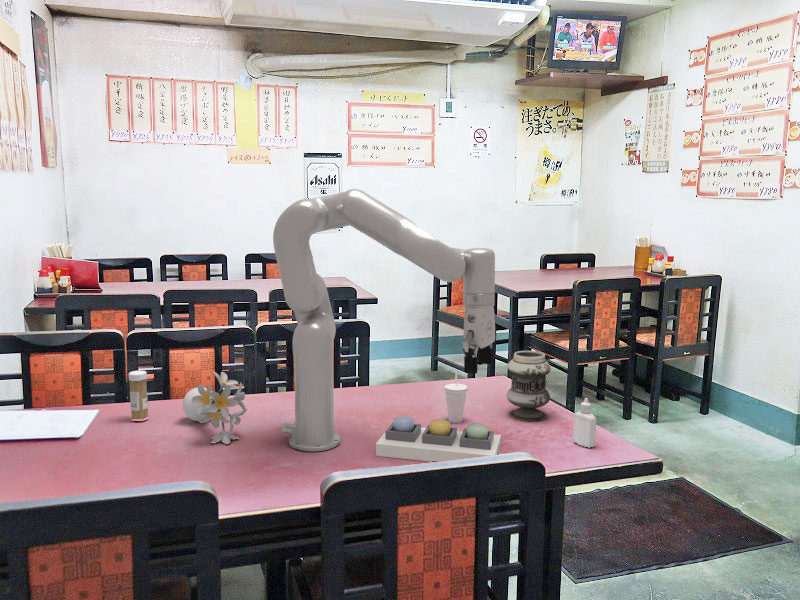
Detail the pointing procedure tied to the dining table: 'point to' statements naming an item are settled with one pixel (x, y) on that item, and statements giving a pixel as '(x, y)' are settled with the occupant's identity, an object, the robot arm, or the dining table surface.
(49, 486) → the dining table surface
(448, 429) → the mustard button
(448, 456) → the button panel
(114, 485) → the dining table surface
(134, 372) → the sprinkles bottle
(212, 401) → the flower vase
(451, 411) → the smoothie
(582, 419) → the eye dropper bottle
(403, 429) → the blue button
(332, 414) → the robot arm
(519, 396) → the apothecary jar
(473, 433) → the sage button
